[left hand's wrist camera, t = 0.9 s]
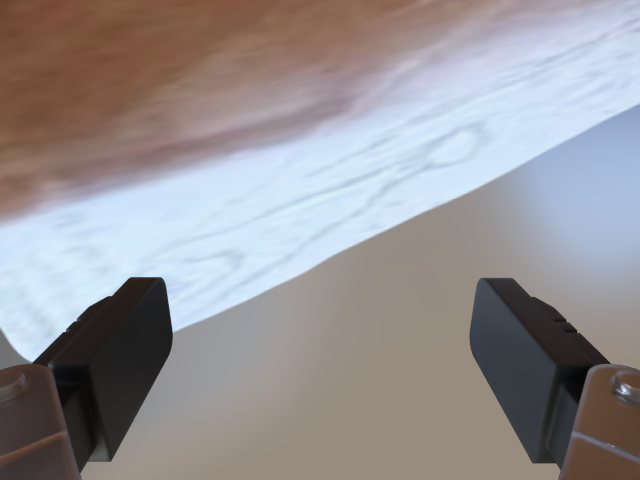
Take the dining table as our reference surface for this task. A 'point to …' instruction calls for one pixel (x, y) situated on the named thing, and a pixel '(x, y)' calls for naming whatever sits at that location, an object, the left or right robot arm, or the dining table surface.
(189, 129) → the dining table surface
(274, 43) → the dining table surface
